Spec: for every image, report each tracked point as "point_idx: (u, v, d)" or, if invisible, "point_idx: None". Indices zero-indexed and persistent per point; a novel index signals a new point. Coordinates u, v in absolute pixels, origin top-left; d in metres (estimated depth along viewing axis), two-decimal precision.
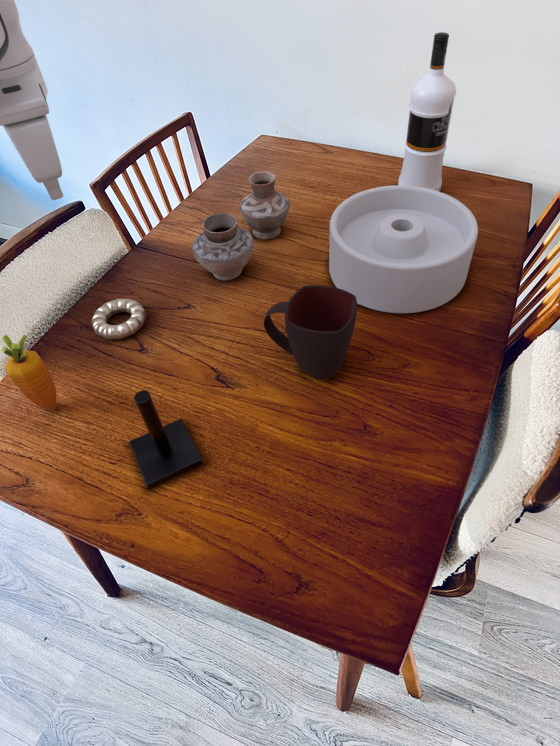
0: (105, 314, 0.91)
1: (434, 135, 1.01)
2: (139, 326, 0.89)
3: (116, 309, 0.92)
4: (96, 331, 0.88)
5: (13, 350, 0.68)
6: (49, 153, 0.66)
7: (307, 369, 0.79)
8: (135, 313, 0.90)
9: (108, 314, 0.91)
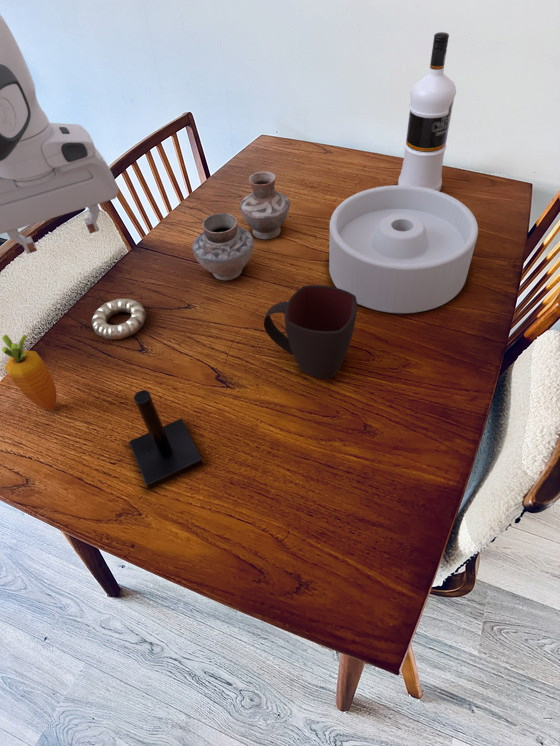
0: (105, 314, 0.91)
1: (434, 135, 1.01)
2: (139, 326, 0.89)
3: (116, 309, 0.92)
4: (96, 331, 0.88)
5: (13, 350, 0.68)
6: None
7: (307, 369, 0.79)
8: (135, 313, 0.90)
9: (108, 314, 0.91)
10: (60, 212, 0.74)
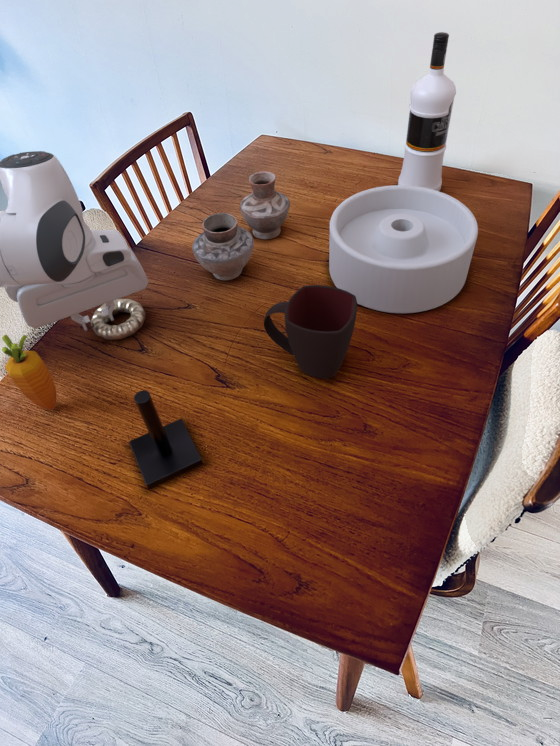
0: None
1: (434, 135, 1.01)
2: (138, 326, 0.89)
3: (115, 309, 0.92)
4: (95, 331, 0.88)
5: (13, 350, 0.68)
6: None
7: (307, 369, 0.79)
8: (134, 313, 0.90)
9: None
10: (98, 303, 0.85)
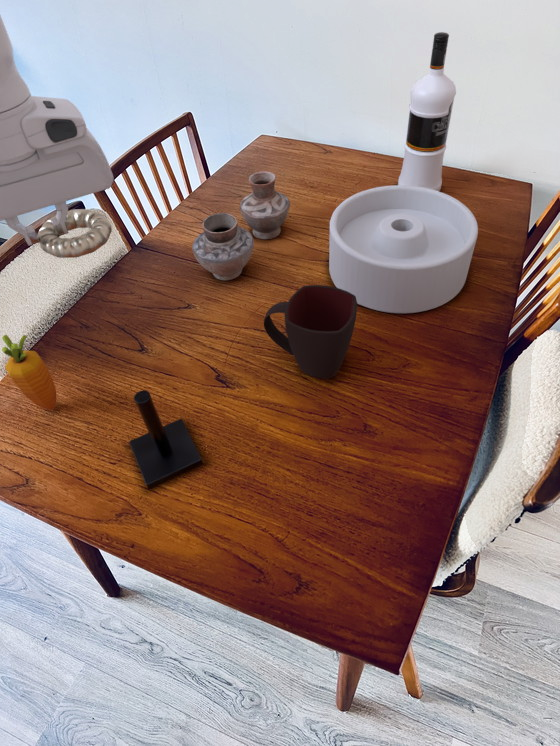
0: None
1: (434, 135, 1.01)
2: (101, 241, 0.67)
3: (72, 222, 0.69)
4: (43, 246, 0.66)
5: (13, 350, 0.68)
6: None
7: (307, 369, 0.79)
8: (96, 224, 0.67)
9: None
10: (44, 203, 0.62)
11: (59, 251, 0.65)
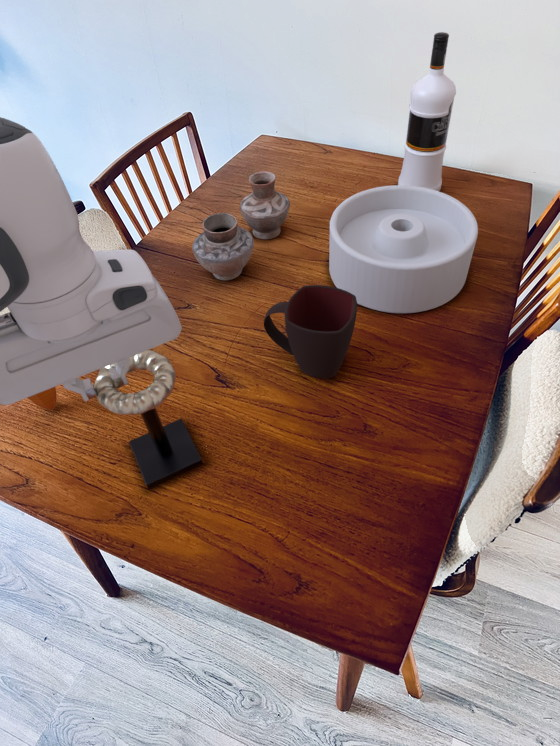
0: None
1: (434, 135, 1.01)
2: (166, 395, 0.59)
3: (131, 366, 0.62)
4: (101, 402, 0.58)
5: None
6: None
7: (307, 369, 0.79)
8: (161, 375, 0.59)
9: None
10: (105, 364, 0.55)
11: (120, 410, 0.57)
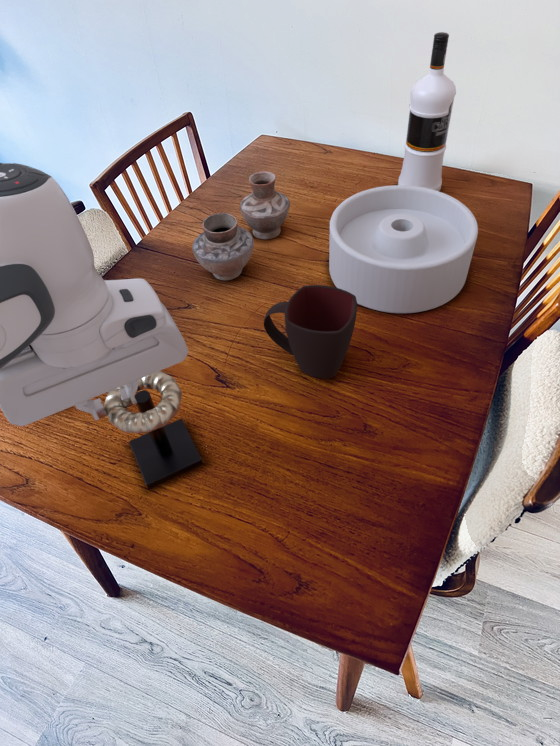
0: None
1: (434, 135, 1.01)
2: (173, 414, 0.62)
3: (139, 386, 0.65)
4: (111, 421, 0.61)
5: None
6: None
7: (307, 369, 0.79)
8: (168, 395, 0.62)
9: None
10: (116, 386, 0.57)
11: (129, 429, 0.60)
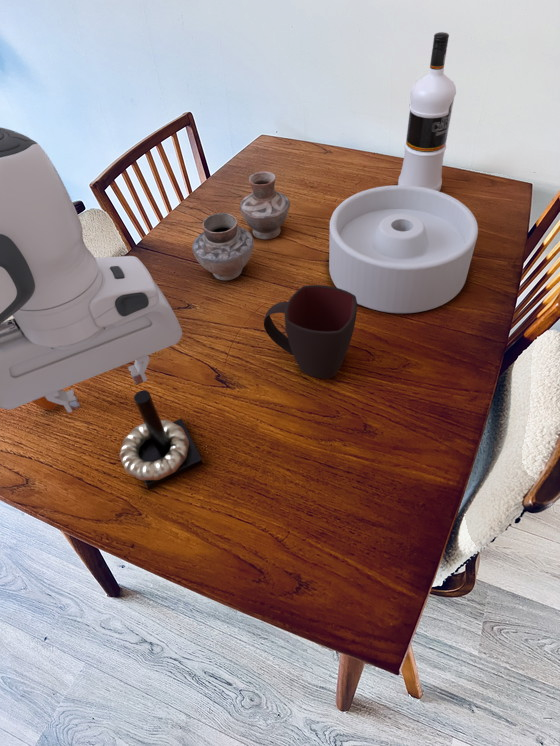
0: (137, 444, 0.71)
1: (434, 135, 1.01)
2: (182, 461, 0.69)
3: None
4: (127, 470, 0.69)
5: None
6: None
7: (307, 369, 0.79)
8: (176, 444, 0.70)
9: (140, 443, 0.71)
10: (107, 368, 0.55)
11: (143, 477, 0.68)
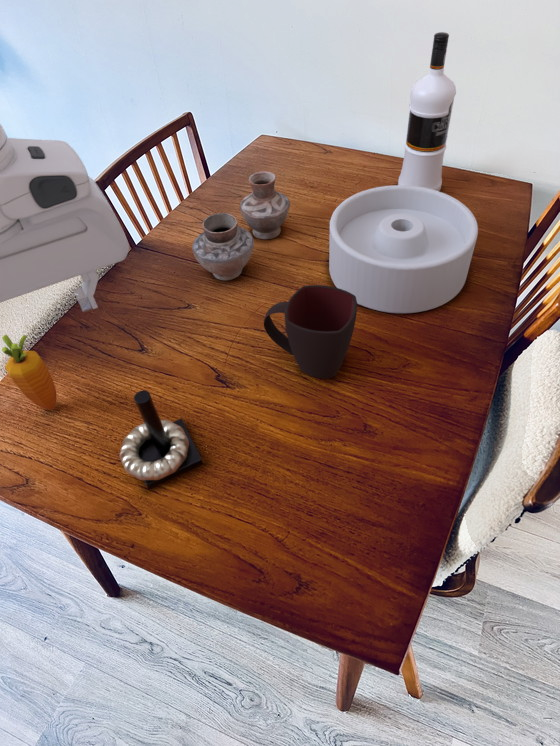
0: (137, 444, 0.71)
1: (434, 135, 1.01)
2: (182, 461, 0.69)
3: None
4: (127, 470, 0.69)
5: (13, 350, 0.68)
6: None
7: (307, 369, 0.79)
8: (176, 444, 0.70)
9: (140, 443, 0.71)
10: (33, 287, 0.44)
11: (143, 477, 0.68)
